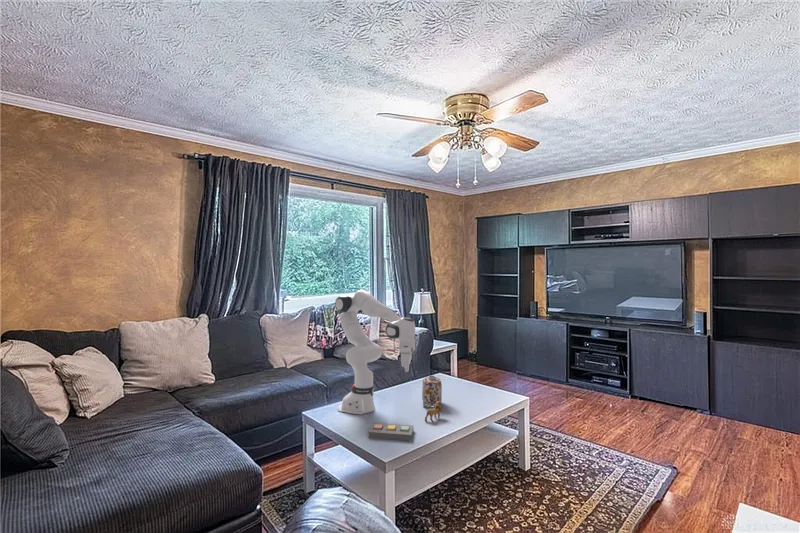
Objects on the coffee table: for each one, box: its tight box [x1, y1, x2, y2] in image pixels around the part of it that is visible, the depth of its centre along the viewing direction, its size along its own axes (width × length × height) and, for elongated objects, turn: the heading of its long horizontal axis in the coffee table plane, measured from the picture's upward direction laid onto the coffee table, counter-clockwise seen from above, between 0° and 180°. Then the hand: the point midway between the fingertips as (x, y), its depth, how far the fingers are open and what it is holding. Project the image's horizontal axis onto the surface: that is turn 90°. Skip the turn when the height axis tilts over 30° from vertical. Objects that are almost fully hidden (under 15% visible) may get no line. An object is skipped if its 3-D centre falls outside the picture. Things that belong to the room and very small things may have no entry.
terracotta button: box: [374, 424, 383, 430], centre depth 205 cm, size 4×4×4 cm
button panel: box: [367, 422, 414, 441], centre depth 204 cm, size 22×12×3 cm, turn 83°
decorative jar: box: [421, 375, 443, 407], centre depth 249 cm, size 12×12×18 cm
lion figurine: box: [424, 401, 443, 423], centre depth 224 cm, size 15×5×9 cm, turn 142°
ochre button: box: [387, 425, 396, 431], centre depth 204 cm, size 4×4×4 cm
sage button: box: [401, 426, 409, 432], centre depth 203 cm, size 4×4×4 cm
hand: (406, 371), depth 218 cm, fingers closed
